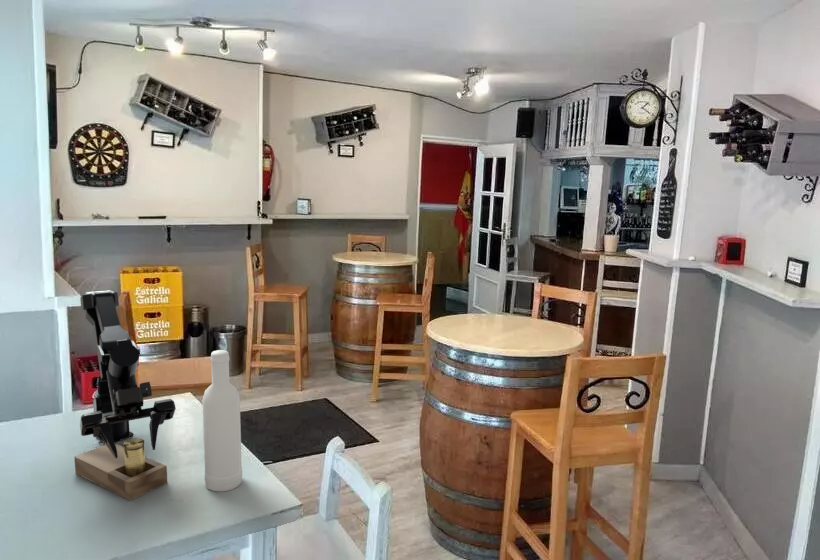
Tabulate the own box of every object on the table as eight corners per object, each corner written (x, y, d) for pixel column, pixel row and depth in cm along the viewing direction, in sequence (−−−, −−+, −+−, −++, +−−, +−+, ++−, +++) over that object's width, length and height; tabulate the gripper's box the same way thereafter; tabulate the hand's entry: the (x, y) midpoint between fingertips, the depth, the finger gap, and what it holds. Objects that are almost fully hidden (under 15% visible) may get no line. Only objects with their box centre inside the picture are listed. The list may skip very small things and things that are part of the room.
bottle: (208, 495, 133) (203, 359, 128) (201, 478, 140) (196, 349, 135) (246, 487, 137) (243, 355, 131) (238, 471, 144) (234, 345, 138)
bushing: (135, 479, 139) (133, 436, 137) (150, 482, 138) (148, 440, 136) (121, 487, 135) (118, 444, 134) (136, 491, 134) (134, 447, 132)
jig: (112, 457, 148) (111, 442, 148) (167, 482, 138) (166, 465, 137) (75, 473, 141) (74, 456, 140) (130, 500, 131) (129, 482, 130)
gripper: (77, 378, 130) (88, 448, 123) (171, 364, 140) (186, 428, 133) (76, 401, 138) (86, 469, 131) (165, 386, 148) (178, 448, 141)
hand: (135, 453), depth 134 cm, fingers open, 7 cm apart
